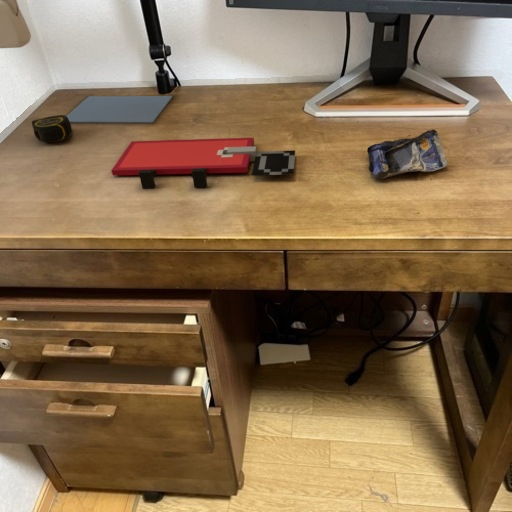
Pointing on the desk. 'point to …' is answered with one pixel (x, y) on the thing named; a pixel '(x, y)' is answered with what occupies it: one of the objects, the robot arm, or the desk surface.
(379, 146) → the snack package
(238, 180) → the desk surface
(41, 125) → the tape measure
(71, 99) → the desk surface
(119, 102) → the cloth
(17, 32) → the robot arm
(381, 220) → the desk surface
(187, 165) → the red board with handle
